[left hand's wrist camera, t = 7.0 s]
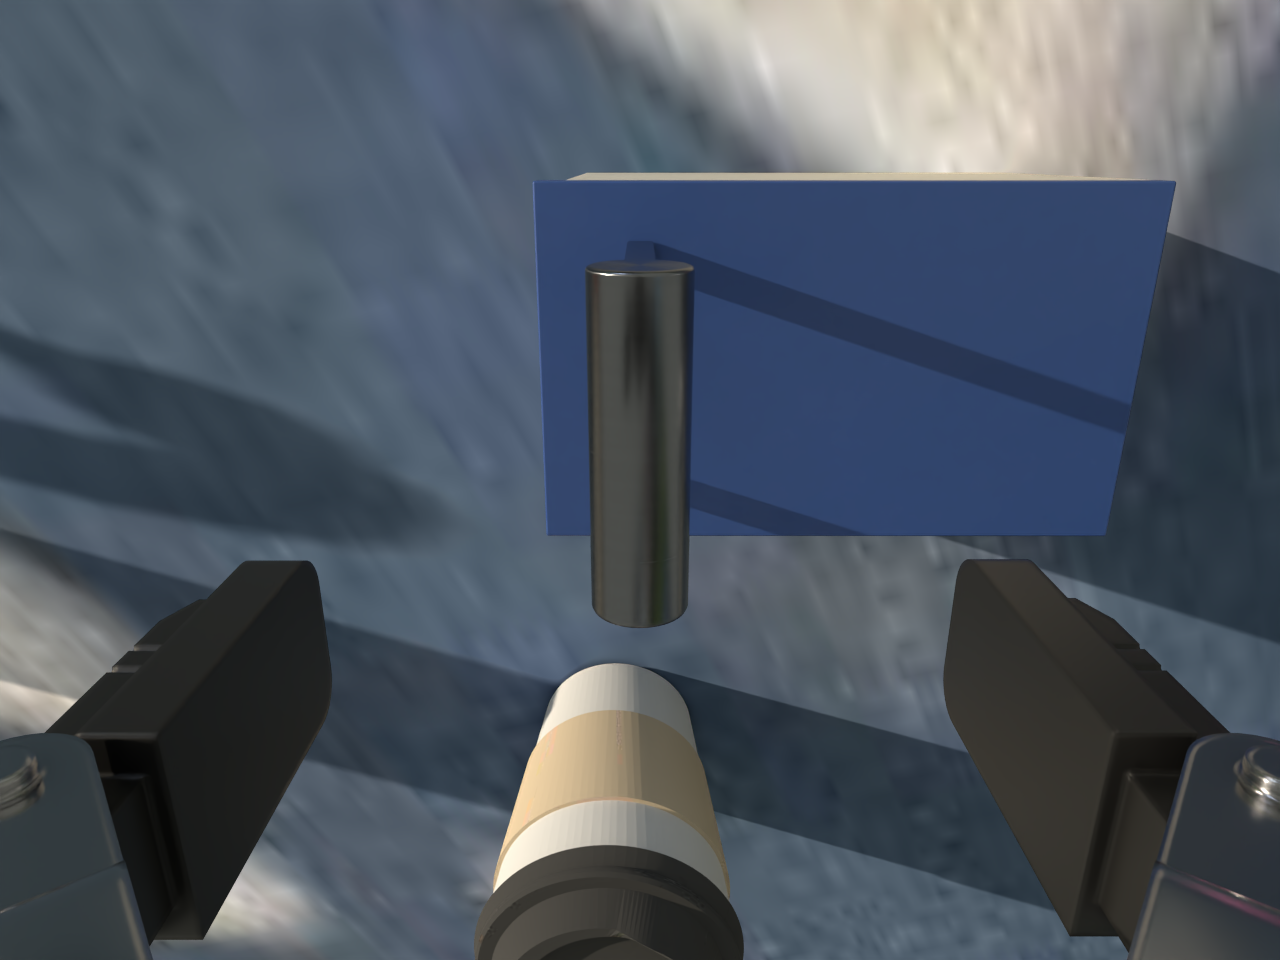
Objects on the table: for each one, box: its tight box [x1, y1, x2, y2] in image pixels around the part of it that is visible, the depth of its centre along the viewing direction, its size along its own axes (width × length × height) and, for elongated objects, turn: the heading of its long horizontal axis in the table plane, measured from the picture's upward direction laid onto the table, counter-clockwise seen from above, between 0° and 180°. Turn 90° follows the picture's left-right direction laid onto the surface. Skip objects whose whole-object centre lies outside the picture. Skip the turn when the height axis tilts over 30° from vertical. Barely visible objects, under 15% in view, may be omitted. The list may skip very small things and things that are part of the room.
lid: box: [533, 180, 1176, 628], centre depth 21 cm, size 17×10×9 cm, turn 90°
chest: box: [568, 173, 1142, 180], centre depth 30 cm, size 16×10×10 cm, turn 90°
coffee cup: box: [474, 663, 744, 960], centre depth 34 cm, size 9×9×15 cm
